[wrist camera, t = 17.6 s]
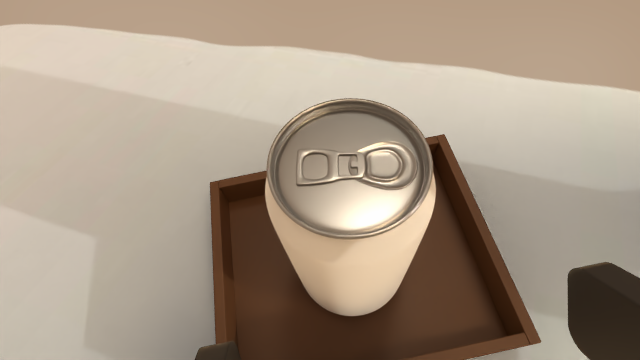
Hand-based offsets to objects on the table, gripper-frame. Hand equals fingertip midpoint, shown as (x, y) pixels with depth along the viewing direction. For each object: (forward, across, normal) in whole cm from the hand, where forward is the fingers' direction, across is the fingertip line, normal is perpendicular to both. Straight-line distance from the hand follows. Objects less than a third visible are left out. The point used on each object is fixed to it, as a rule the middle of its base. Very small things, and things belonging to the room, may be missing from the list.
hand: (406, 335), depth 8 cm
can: (+13, 0, +5) cm, 14 cm away
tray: (+14, 0, +5) cm, 15 cm away
